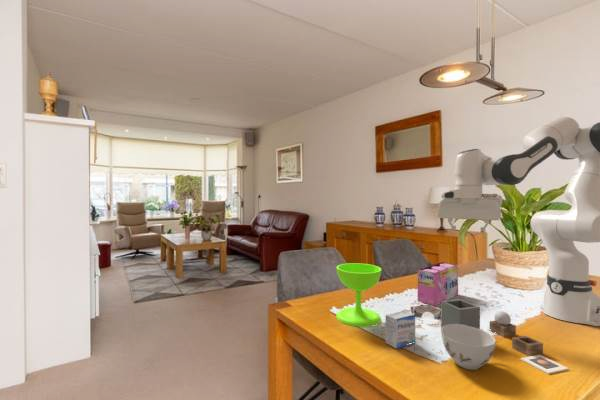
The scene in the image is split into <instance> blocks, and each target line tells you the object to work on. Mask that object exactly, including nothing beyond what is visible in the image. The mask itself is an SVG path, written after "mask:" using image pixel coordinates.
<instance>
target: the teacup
mask: <svg viewBox="0 0 600 400" xmlns="http://www.w3.org/2000/svg"><path fill="white" fill-rule="evenodd" d="M440 333H441V338H442V344H443V346H444V348H445V350H446V352H447V354H448V355H449V357H450V358H451V359H452V360H453V362H454V363H455V365H457V366H459V367H461V368H463V369H466V370H471V371H473V370H475V371H476V370H479V368H481V367H483V366H485V365H486V364H487V363H488V362H489V361H490V360H491V358H492V357H493V354H494V353H495V351H496V350H495V349H496V344H497V340H496V338H495V337H494V336H492V335H491V334H490V333H489V332H487V331H485V330H483V329H481V328H480V329H477V328H474V327H470V326H467V325H459V324H449V325H445V326H444V327H442V330H441V329H440Z"/></svg>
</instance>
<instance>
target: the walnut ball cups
mask: <svg viewBox="0 0 600 400" xmlns="http://www.w3.org/2000/svg"><path fill="white" fill-rule="evenodd" d="M490 329H491V330H492V331H494V332H496V333H497V334H496V333H495V334H496V335H498V336H501V337H502V338H508V337H512V339H511V340H512V341H511V342H512V344H511V345H512V346H511V349H514V350H516V351H517V352H520V354H521V353H522V354H523V355H525V356H526V357H529V356H534V355H543V354H544V342H541V341H539V340H538V339H537V340H536V339H534V338H531V337H530V336H527V335H521V336H517V325H515V324H513V323H511V322H510V324H509V325H506V326H502V325H500V324H498V323H497V322H496V321H495V320H490V321H489V330H490ZM492 331H491V332H492ZM494 332H493V333H494ZM513 336H515V337H513Z"/></svg>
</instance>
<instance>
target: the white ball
mask: <svg viewBox="0 0 600 400" xmlns="http://www.w3.org/2000/svg"><path fill="white" fill-rule="evenodd" d="M494 321H496V322H497V323H498V324H500V325H502V326H506V325H509V324H510V323H511V321H512V319H511V316H510V315H509V313H508V312H505V311H502V310H501V311H497V312H496V313H495V314H494Z"/></svg>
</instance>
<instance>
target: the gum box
mask: <svg viewBox="0 0 600 400" xmlns="http://www.w3.org/2000/svg"><path fill="white" fill-rule="evenodd" d="M458 268H459V267H458V264H454V265H453V264H449V263H446V262H438V263H437V262H436V263H434V264H431V265H428V266H426V267H425V266H424V267H421V268H417V302H419V303H422V304H426V305H431V306H434V307H435V306H437V305H441V301H449V300H451V299H452V298H454V297H456V296H458V295H459V274H458V273H459V272H458V271H459V270H458Z"/></svg>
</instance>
